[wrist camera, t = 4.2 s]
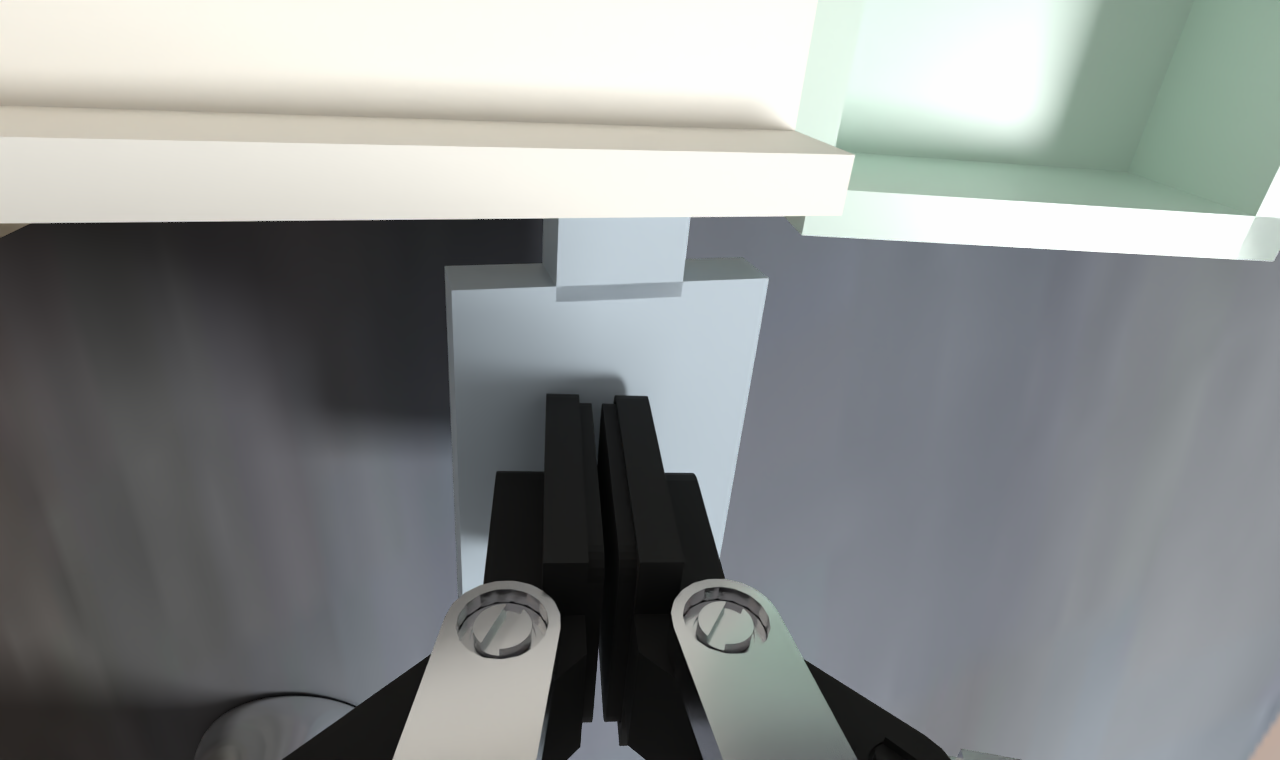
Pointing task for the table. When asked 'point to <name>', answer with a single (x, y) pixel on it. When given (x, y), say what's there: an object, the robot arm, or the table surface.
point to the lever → (460, 178)
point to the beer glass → (268, 728)
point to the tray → (1052, 123)
